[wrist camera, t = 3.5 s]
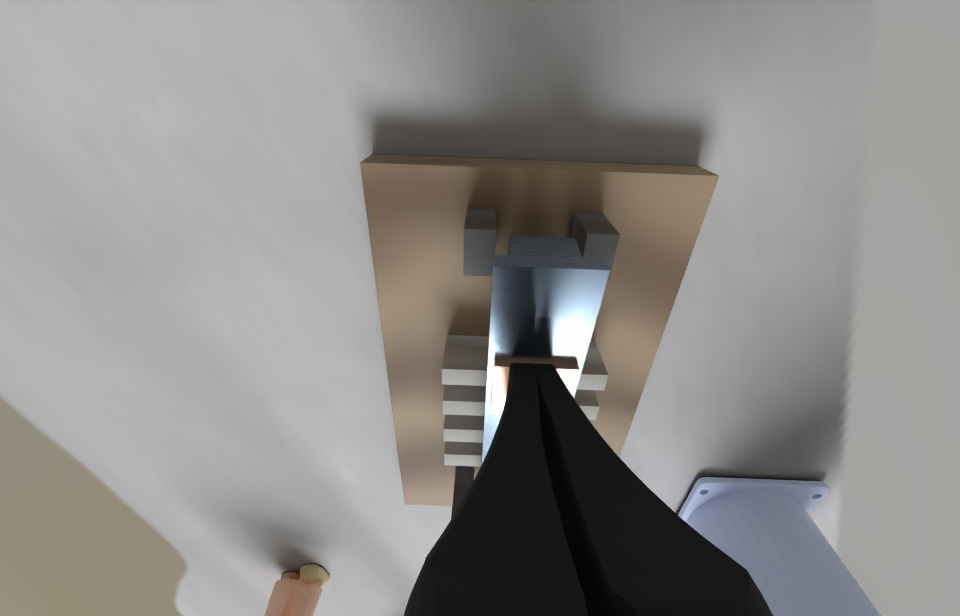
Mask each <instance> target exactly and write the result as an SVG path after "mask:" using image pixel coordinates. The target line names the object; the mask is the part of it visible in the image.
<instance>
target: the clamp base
mask: <svg viewBox="0 0 960 616" xmlns="http://www.w3.org/2000/svg"><path fill="white" fill-rule="evenodd" d="M360 165H361V173H362V181H363V188H364V196H365V204H366V211H367V219H368V226H369V234H370V242H371V249H372V257H373V265H374V272H375V280H376V288H377V295H378V303H379V311H380V318H381V326H382V334H383V341H384V349H385V357H386V364H387V372H388V380H389V387H390V395H391V403H392V410H393V418H394V426H395V433H396V441H397V448H398V456H399V464H400V471H401V479H402V487H403V494H404V502H405V504H413V505H440V506H452V517H451V520H452V518H453V516H454V514H455V513H456V511H457V509H458V508H459V506H460V504H461V503H462V501H463V499H464V498H465V496H466V494H467V492H468V491H469V489H470V487H471V485H472V483H473V481H474V479H475V477H476V475H477V473H478V471H479V469H480V467H481V462H482V445H483V428H484V411H485V393H486V376H487V359H488V342H489V324H490V307H491V290H492V273H493V255H494V254H499V255H508V247H509V236H529V237H556V238H575V239H576V242H577V244H578V247H579V250H580V253H581V255H582V258H605V260H606V262H607V264H608V266H609V269H610V273H609V277H608V280H607V284H606V287H605V291H604V294H603V298H602V301H601V305H600V309H599V312H598V316H597V319H596V323H595V326H594V330H593V333H592V337H591V340H590V344H589V347H588V351H587V354H586V358H585V361H584V365H583V369H582V372H581V376H580V379H579V383H578V386H577V390H576V393H575V397H574V399H575V401H576V402H577V404H578V405H579V406H580V408H581V409H582V411H583V412H584V414H585V415H586V416H587V418H588V419H589V421H590V422H591V423H592V425H593V426H594V427H595V429H596V430H597V431H598V432H599V434H600V435H601V436H602V437H603V439H604V440H605V441H606V442H607V444H608V445H609V446H610V447H611V448H612V450H613V451H614V452H615V453H616V454H617V455H618V457H619V456H620V453H621V451H622V448H623V445H624V442H625V439H626V436H627V434H628V431H629V428H630V425H631V422H632V420H633V417H634V414H635V411H636V408H637V405H638V403H639V400H640V397H641V394H642V391H643V389H644V386H645V383H646V380H647V377H648V375H649V372H650V369H651V366H652V363H653V360H654V358H655V355H656V352H657V349H658V346H659V344H660V341H661V338H662V335H663V332H664V329H665V327H666V324H667V321H668V318H669V315H670V313H671V310H672V307H673V304H674V301H675V298H676V296H677V293H678V290H679V287H680V284H681V282H682V279H683V276H684V273H685V270H686V267H687V265H688V262H689V259H690V256H691V253H692V251H693V248H694V245H695V242H696V239H697V237H698V234H699V231H700V228H701V225H702V222H703V220H704V217H705V214H706V211H707V208H708V206H709V203H710V200H711V197H712V194H713V191H714V189H715V186H716V183H717V180H718V177H719V176H718V175H716V174H714V173H712V172H710V171H707V170H705V169H703V168H701V167H699V166H678V165H651V164H624V163H597V162H570V161H543V160H516V159H488V158H461V157H434V156H407V155H380V154H372V155H370V156H369V157H367V158H366V159H365V160H363V161H362V162H360Z"/></svg>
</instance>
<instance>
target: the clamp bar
mask: <svg viewBox="0 0 960 616" xmlns="http://www.w3.org/2000/svg"><path fill="white" fill-rule="evenodd" d="M609 273H610V269H609V266H608V264H607V262H606V260H605V258H582V255H581V253H580V250H579V247H578V244H577V242H576V239H575V238H556V237H529V236H509V247H508V255H499V254H494V255H493V273H492V290H491V307H490V324H489V342H488V359H487V376H486V393H485V411H484V428H483V445H482V462H481V465H482V463H483V461H484V459H485V456H486V454H487V452H488V450H489V447H490V445H491V443H492V440H493V438H494V435H495V432H496V429H497V427H498V424H499V421H500V418H501V415H502V412H503V408H504V404H505V401H506V396H507V386H508V376H509V365H511V364H512V363H535V364H553V365H554V366H555V368H556V369H557V371H558V373H559V375H560V377H561V378H562V380H563V382H564V383H565V385H566V387H567V388H568V390H569V391H570V393H571V394H572V396H573V398H574V397H575V393H576V390H577V386H578V383H579V379H580V376H581V372H582V369H583V365H584V361H585V358H586V354H587V351H588V347H589V344H590V340H591V337H592V333H593V330H594V326H595V323H596V319H597V316H598V312H599V309H600V305H601V301H602V298H603V294H604V291H605V287H606V284H607V280H608V277H609Z"/></svg>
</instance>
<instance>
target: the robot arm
mask: <svg viewBox="0 0 960 616" xmlns="http://www.w3.org/2000/svg"><path fill="white" fill-rule="evenodd" d="M829 490H830V489H829V487H828V486H827V484H826V483H825V482H821V481H798V480H772V479H746V478H719V477H703V478H700V479H698V480H697V481H696V483H695V485H694V487H693V489H692V490H691V492H690V494H689V496H688V498H687V499H686V501H685V503H684V505H683V507H682V508H681V510H680V512H679V514H678V515H677V514H676V513H675V512H674V511H673V510H671V509H670V508H669V507H668V506H667V505H666V504H665V503H664V502H663V501H662V500H661V499H660V498H659V497H657V496H656V495H655V494H654V493H653V492H652V491H651V490H650V489H649V488H648V487H647V486H646V485H645V484H644V483H643V482H642V481H641V480H640V479H639V478H638V477H637V476H636V475H635V474H634V473H633V472H632V471H631V470H630V469H629V468H628V467H627V465H626V464H625V463H624V462H623V461H622V460H621V459H620V458H619V457H618V455H617V454H616V453H615V452H614V451H613V450H612V448H611V447H610V446H609V445H608V444H607V442H606V441H605V440H604V439H603V437H602V436H601V435H600V434H599V432H598V431H597V430H596V429H595V427H594V426H593V425H592V423H591V422H590V421H589V419H588V418H587V416H586V415H585V414H584V412H583V411H582V409H581V408H580V406H579V405H578V404H577V402H576V401H575V399H574V398H573V396H572V394H571V393H570V391H569V390H568V388H567V387H566V385H565V383H564V382H563V380H562V378H561V377H560V375H559V373H558V371H557V369H556V368H555V366H554V365H553V364H535V363H512V364H511V365H509V376H508V386H507V396H506V401H505V404H504V408H503V412H502V415H501V418H500V421H499V424H498V427H497V429H496V432H495V435H494V438H493V440H492V443H491V445H490V447H489V450H488V452H487V454H486V456H485V459H484V461H483V463H482V465H481V467H480V469H479V471H478V473H477V475H476V477H475V479H474V481H473V483H472V485H471V487H470V489H469V491H468V492H467V494H466V496H465V498H464V499H463V501H462V503H461V504H460V506H459V508H458V509H457V511H456V513H455V514H454V516H453V518H452V520H451V521H450V523H449V524H448V526H447V527H446V529H445V530H444V532H443V533H442V535H441V536H440V538H439V539H438V541H437V542H436V544H435V545H434V547H433V548H432V550H431V551H430V553H429V554H428V556H427V557H426V559H425V562H424V565H423V567H422V569H421V571H420V574H419V576H418V578H417V580H416V583H415V585H414V588H413V590H412V592H411V595H410V598H409V600H408V603H407V606H406V610H405V614H404V616H881V615H880V614H879V612H878V611H877V609H876V608H875V607H874V605H873V604H872V602H871V601H870V600H869V598H868V597H867V595H866V594H865V593H864V591H863V590H862V588H861V587H860V586H859V584H858V583H857V581H856V580H855V579H854V577H853V576H852V575H851V573H850V572H849V570H848V569H847V568H846V566H845V565H844V563H843V562H842V561H841V559H840V558H839V556H838V555H837V554H836V552H835V551H834V549H833V548H832V547H831V545H830V544H829V542H828V541H827V540H826V538H825V537H824V536H823V534H822V533H821V531H820V530H819V529H818V527H817V526H816V524H815V523H814V522H813V520H812V519H811V517H810V516H809V513H810V512H811V511H812V510H813V509H814V508H815V507H816V506H817V504H818V503H819V502H820V501H821V500H822V499H823V498H824V496H825V495H826V494H827V493H828V492H829Z"/></svg>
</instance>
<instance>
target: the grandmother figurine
mask: <svg viewBox="0 0 960 616" xmlns="http://www.w3.org/2000/svg"><path fill="white" fill-rule="evenodd" d="M329 578H330V576H329V574H328V573H327V572H326V571H325V570H324V569H323V568H322V567H320V566H318V565H314V564H308V565H304V566H302V567H301V568H300V574H298V573H295V572H288V573H285V574H283V575H282V576H281V580H278V581H277V582H276V583H275V586H274V588H273V591H272V594H271V596H270V600H269V603H268V606H267V610H266V613H265V616H313V614H314V611H315V608H316V606H317V603H318V600H319V597H320V595H321V592H322V589H321V587H320V586H322V585H324V584H325V583H326V582H327V581H328V580H329Z"/></svg>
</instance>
